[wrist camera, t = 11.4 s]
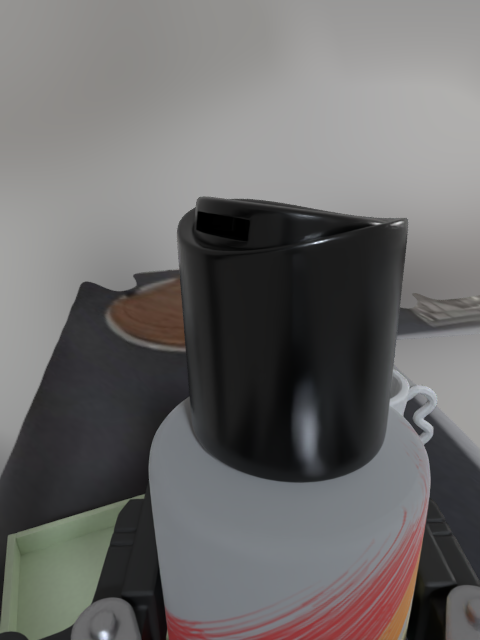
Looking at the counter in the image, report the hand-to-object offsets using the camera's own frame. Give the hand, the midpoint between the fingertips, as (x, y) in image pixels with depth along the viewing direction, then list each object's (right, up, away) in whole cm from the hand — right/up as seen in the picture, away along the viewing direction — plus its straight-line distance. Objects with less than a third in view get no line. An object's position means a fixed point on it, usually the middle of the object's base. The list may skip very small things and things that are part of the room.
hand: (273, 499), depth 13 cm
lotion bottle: (0, -11, +2) cm, 11 cm away
